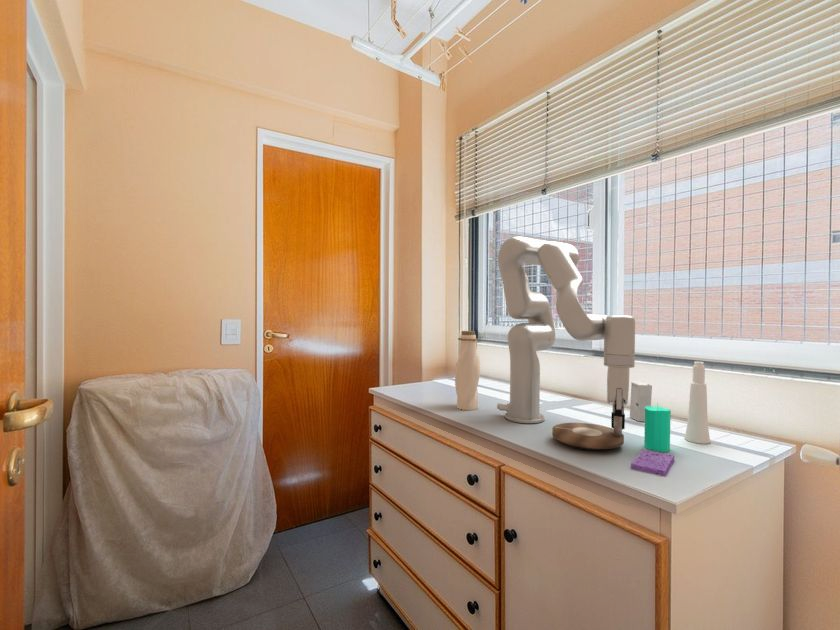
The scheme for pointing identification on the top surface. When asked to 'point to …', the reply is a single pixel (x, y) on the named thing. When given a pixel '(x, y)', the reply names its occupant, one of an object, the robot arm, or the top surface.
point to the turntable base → (587, 448)
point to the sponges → (653, 462)
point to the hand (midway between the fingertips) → (617, 428)
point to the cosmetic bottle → (698, 408)
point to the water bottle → (467, 372)
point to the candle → (657, 428)
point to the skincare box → (640, 399)
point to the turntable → (590, 434)
